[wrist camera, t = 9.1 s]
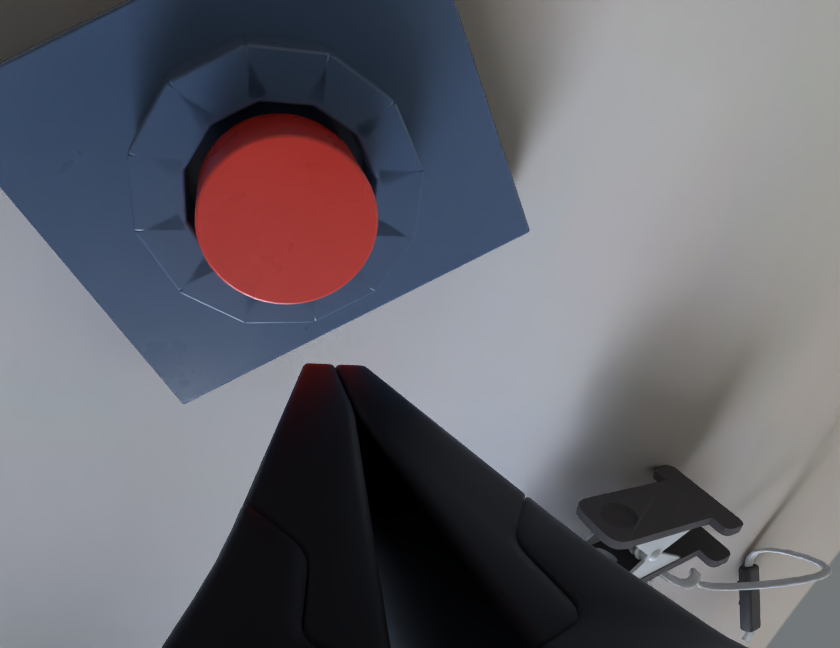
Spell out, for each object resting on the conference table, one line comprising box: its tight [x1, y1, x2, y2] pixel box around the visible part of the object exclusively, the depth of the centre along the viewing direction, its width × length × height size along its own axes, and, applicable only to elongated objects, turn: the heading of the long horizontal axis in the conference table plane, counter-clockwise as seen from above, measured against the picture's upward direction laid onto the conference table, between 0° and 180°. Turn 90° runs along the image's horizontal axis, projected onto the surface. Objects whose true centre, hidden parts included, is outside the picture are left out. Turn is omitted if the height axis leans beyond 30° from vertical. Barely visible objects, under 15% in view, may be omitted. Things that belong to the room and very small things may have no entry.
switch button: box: [195, 113, 378, 305], centre depth 15 cm, size 4×4×2 cm
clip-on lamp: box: [576, 466, 832, 642], centre depth 32 cm, size 12×6×18 cm
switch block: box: [0, 0, 529, 404], centre depth 17 cm, size 12×10×4 cm
